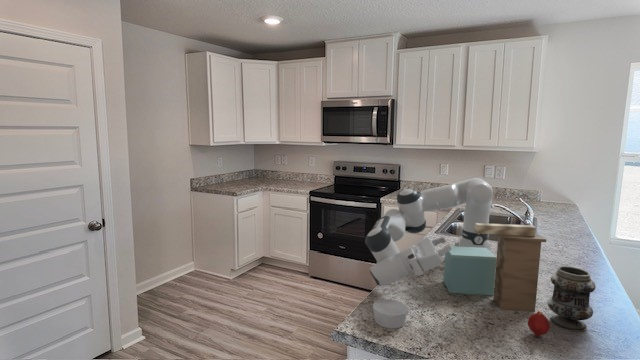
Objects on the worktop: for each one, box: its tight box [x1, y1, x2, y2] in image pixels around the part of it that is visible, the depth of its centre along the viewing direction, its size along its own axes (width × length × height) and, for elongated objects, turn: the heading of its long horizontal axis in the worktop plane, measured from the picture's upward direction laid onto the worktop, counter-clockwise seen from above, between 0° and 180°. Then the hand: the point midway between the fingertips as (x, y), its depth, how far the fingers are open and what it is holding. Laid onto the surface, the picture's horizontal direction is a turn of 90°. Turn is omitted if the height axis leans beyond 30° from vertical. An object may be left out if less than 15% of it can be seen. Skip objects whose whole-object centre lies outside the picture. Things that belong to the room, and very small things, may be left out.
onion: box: [527, 310, 551, 337], centre depth 109 cm, size 6×6×8 cm
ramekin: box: [372, 298, 409, 330], centre depth 117 cm, size 11×11×5 cm
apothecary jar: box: [546, 265, 597, 333], centre depth 116 cm, size 12×12×18 cm
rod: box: [475, 223, 537, 236], centre depth 127 cm, size 19×3×3 cm, turn 83°
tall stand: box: [493, 233, 547, 313], centre depth 128 cm, size 10×13×26 cm
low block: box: [443, 245, 497, 296], centre depth 142 cm, size 11×16×15 cm
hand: (447, 242), depth 130 cm, fingers open, 8 cm apart
